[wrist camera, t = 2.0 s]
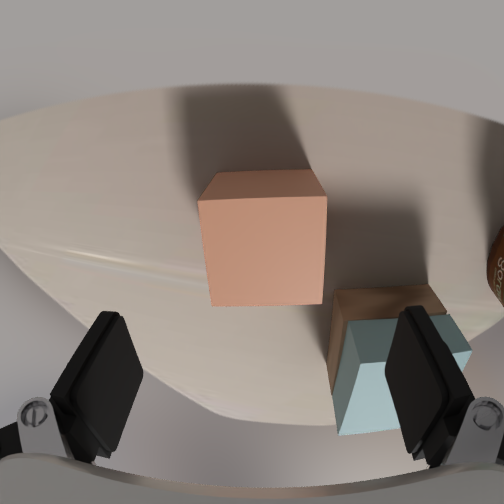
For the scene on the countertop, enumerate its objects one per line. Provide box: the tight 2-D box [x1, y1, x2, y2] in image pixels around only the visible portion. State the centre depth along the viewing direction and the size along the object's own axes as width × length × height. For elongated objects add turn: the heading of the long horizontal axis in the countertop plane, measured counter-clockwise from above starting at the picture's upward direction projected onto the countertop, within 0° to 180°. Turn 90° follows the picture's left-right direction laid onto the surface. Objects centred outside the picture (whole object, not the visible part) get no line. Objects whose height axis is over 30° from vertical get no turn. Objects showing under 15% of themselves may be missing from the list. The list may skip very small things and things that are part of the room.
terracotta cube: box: [198, 169, 327, 306], centre depth 19 cm, size 6×6×6 cm
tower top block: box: [332, 314, 472, 435], centre depth 20 cm, size 8×8×4 cm
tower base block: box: [326, 284, 447, 395], centre depth 24 cm, size 8×8×4 cm
